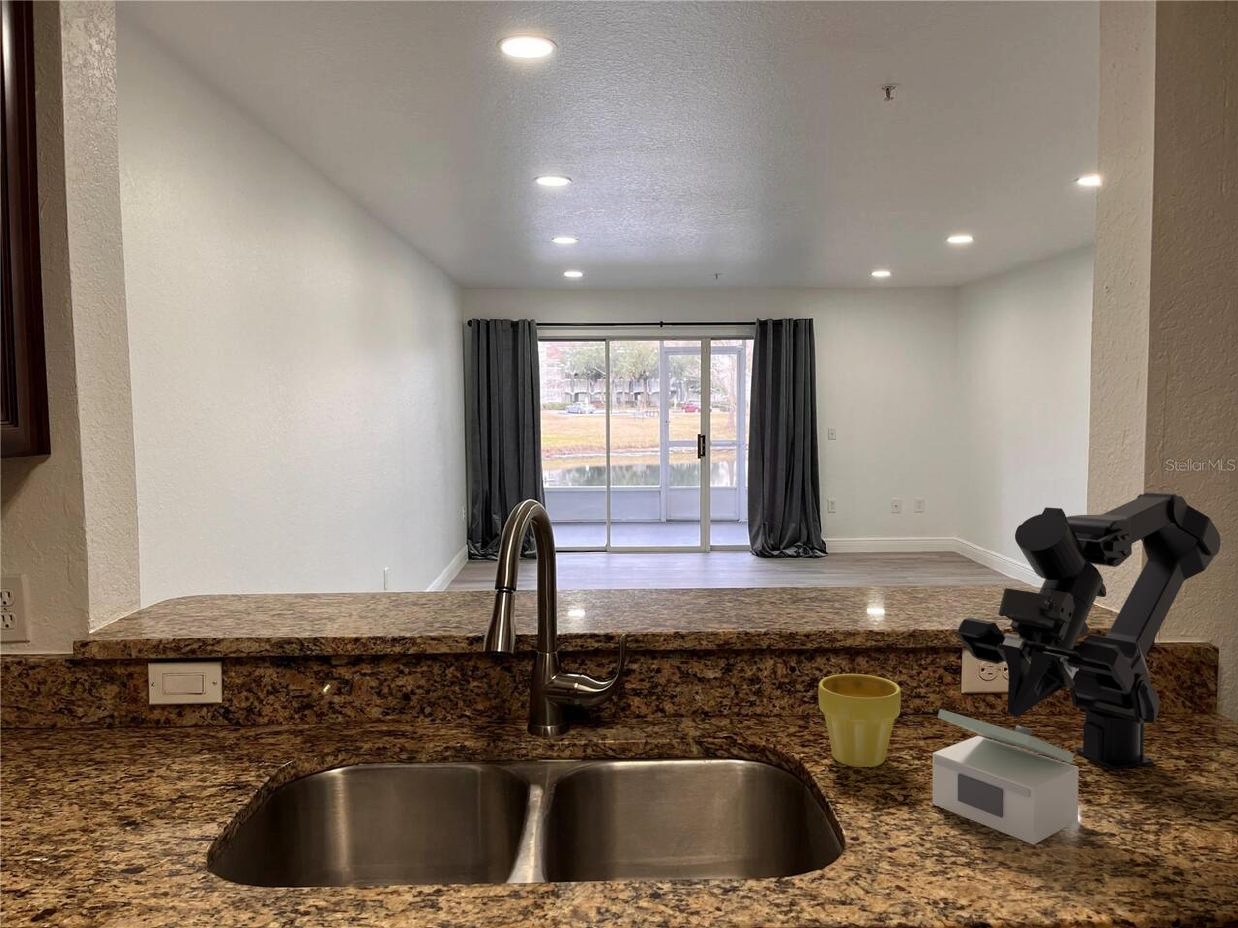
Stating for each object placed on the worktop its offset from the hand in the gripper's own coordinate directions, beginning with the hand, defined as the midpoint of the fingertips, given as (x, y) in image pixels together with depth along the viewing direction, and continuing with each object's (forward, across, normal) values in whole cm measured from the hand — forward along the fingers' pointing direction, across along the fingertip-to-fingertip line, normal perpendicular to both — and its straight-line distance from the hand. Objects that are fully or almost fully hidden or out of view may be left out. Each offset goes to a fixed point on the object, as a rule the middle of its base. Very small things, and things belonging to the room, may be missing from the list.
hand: (1012, 714), depth 98 cm
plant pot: (+9, -20, +6) cm, 23 cm away
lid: (+3, 0, +1) cm, 3 cm away
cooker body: (+9, 0, +6) cm, 11 cm away
